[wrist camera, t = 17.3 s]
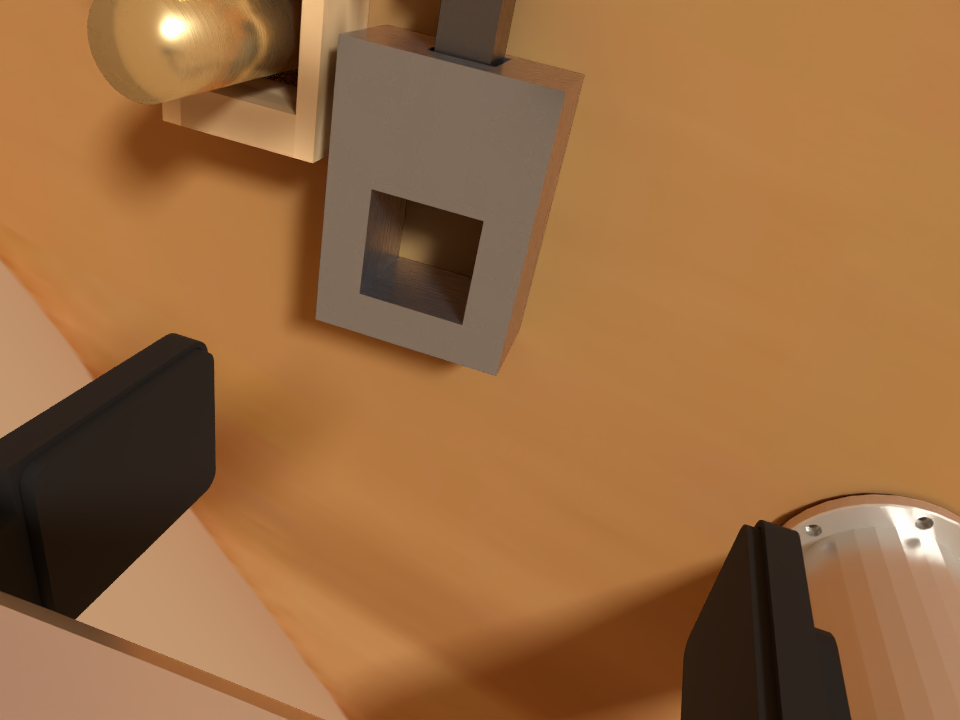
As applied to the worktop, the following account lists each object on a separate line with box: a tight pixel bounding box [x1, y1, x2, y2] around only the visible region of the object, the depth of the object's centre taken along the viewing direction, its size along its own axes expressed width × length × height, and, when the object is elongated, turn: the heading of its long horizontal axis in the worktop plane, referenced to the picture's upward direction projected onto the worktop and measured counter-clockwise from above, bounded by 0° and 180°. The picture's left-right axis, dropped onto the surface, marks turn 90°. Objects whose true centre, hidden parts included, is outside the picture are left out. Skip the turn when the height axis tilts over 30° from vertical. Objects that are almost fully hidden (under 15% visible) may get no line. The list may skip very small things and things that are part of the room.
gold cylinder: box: [87, 0, 302, 105], centre depth 31 cm, size 4×4×12 cm
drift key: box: [434, 0, 516, 67], centre depth 32 cm, size 10×4×4 cm, turn 169°
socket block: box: [315, 25, 584, 376], centre depth 36 cm, size 14×10×6 cm
